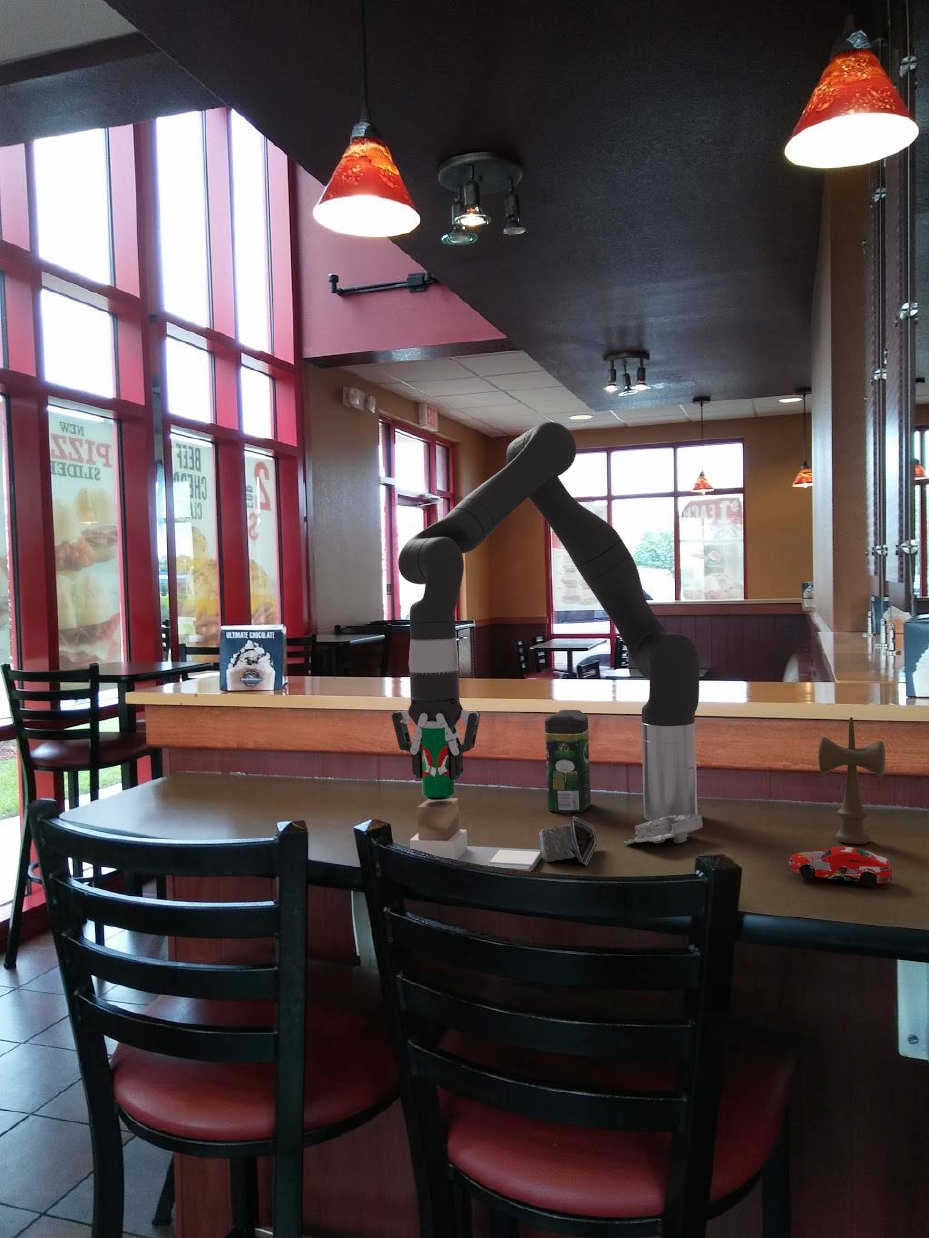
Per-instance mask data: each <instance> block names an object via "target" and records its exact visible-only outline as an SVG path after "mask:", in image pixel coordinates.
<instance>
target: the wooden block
mask: <svg viewBox="0 0 929 1238" xmlns="http://www.w3.org/2000/svg"><path fill="white" fill-rule="evenodd" d="M459 807H460V806H459V798H458V797H455V798H454V797H451V798H449V799H444V800H430V799H427V800H425V801H423V802H422V803H421V804H419V805H418V806H417V832H418V833H417V834H418V840H436V841H448V840H449V839H450V838H451V837H452V836H453V835H454V834H456V833H457V832H458V831H459V830H460V814H459V813H460V811H459Z"/></svg>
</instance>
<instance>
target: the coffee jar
mask: <svg viewBox="0 0 929 1238" xmlns="http://www.w3.org/2000/svg"><path fill="white" fill-rule="evenodd" d="M589 736H590V734H589V717H588V716H587V715H586V714H585V713H583V712H582V711H581V710H580V709H560V710H558V711H557V712H556V713H553V714H551V715H550V716H548V717H547V718H545V719H544V737H545V739H544V740H545V755H546V760H545V761H546V800H547V801H546V804H547V809H548V810H549V811H551V812H557V813H558V814H572V813H583V812H585V811H586V810H588V808H589V807H590V806H591V804H592V801H591V800H592V795H591V794H592V793H591V775H590V773H591V771H590V770H591V769H590V749H589V748H590V746H589V745H590V744H589V741H590V740H589V739H590V738H589Z"/></svg>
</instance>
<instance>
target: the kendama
mask: <svg viewBox="0 0 929 1238" xmlns="http://www.w3.org/2000/svg"><path fill="white" fill-rule="evenodd" d="M855 737H856V735H855V723H854V717H852V716H851V717H849V720H848V742H847V743H848V745H847V747H845V746H844V747H843V746H841V745H838V744H837V743H835V742H833V740H831V739H829V738H827V737H825V736H822V737H821V738H820V740H819V744H818V766H819V772H820V773H821V775H826V774H828V773H830V772H831V771H833V770H835V769H837V768H839V767H843V766H847V770H846V771H847V772H846V782H845V789H844V796H843V801H842V805H841V807H840V808H838V809H837V810H836V812H837V815H838V816H839V818H840V827H839V830H838V832H837V833H836V834H835V839H836V840H837V841H839V842H841V843H843V844H848V845H865V844H868V843H870V841H871V840H872V839H871V836H870V835H869V834H868V833H867V831H866V826H865V824H866V823H865V822H866V821H865V820H866V818H867V817H868V816H869V811H867V810H866V809H865V808H864V806H863V802H862V798H861V792H860V786H859V785H860V784H859V777H858V770H857V769H858V768H857V767H859V768H860V767H861V768H863V769H865V770H867V771H869V772H871V773H872V774H874V775H876V776H878V777H883V776H884V774H885V770H886V748H885V744H884V742H883V741H882V740H879V741H875V742H873V743H872V744H869V745H867V746H864V747H858V748H857V747H856V738H855Z"/></svg>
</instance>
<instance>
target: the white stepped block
mask: <svg viewBox="0 0 929 1238" xmlns="http://www.w3.org/2000/svg"><path fill="white" fill-rule="evenodd" d="M410 849H416V850H419V851H423V852H426V853H429V854H432V855H435V856H440V857H444V858H452V859H458V860H463V861H467V862H471V863H475V864H480V865H488V866H495V867H501V868H513V869H520V870H533V871H534V870H535V868H536V867H537V865H538V864H539V862H540V860H541V859H542V853H541V849H534V848H533V849H531V848H511V847H509V848H508V847H495V846H494V847H492V846H491V847H490V846H474V845H472V846H471V845H470V846H469V845H468V830H467V829H459V831H458V832H457V833H456V834H454V835H453V836H452V837H451V838H450V839H449V840H448V841H436V840H418V833H416V834H415V835H414V836H413V837H412V838H410V839H409V850H410Z"/></svg>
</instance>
